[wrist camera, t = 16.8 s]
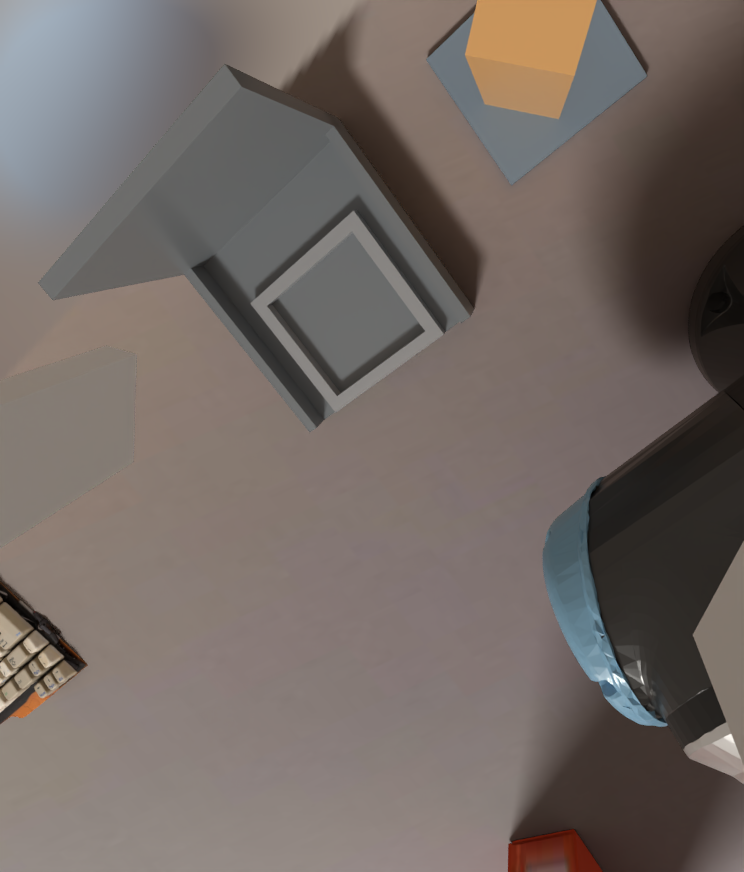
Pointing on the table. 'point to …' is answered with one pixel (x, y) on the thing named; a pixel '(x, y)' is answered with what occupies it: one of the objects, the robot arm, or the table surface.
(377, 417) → the table surface
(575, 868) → the file binder
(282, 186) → the case
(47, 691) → the mechanical keyboard
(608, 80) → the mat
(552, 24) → the module
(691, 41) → the table surface
